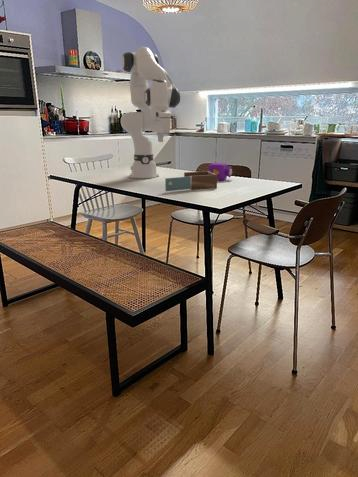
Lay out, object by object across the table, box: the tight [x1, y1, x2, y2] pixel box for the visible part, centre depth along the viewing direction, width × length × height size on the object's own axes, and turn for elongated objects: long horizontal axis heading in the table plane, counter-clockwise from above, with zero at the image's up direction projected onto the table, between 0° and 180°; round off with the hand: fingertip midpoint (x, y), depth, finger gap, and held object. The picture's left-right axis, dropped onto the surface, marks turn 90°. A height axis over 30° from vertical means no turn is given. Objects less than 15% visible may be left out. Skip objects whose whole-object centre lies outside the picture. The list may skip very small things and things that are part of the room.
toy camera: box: [208, 161, 233, 181], centre depth 223 cm, size 11×14×10 cm
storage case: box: [183, 170, 218, 191], centre depth 202 cm, size 14×14×7 cm
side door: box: [164, 176, 192, 192], centre depth 190 cm, size 14×2×7 cm, turn 114°
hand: (160, 141), depth 192 cm, fingers closed
